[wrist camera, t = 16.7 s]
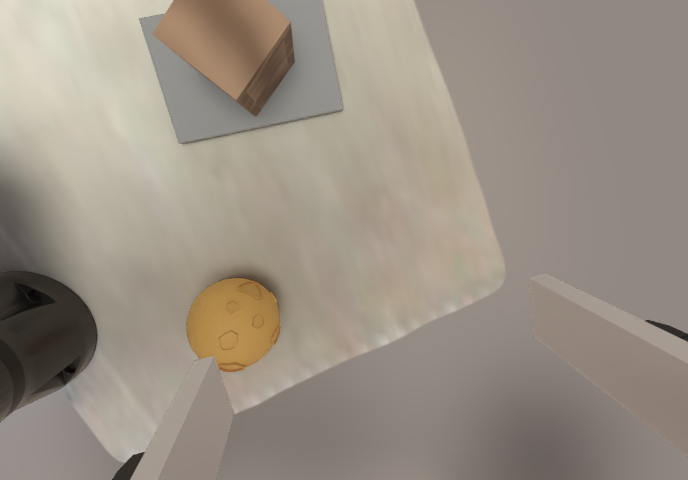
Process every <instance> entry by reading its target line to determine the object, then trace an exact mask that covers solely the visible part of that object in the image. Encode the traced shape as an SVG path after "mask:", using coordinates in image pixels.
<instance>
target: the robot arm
mask: <svg viewBox="0 0 688 480" xmlns="http://www.w3.org/2000/svg"><path fill="white" fill-rule="evenodd" d="M529 287H530V301H531V314H532V328H533V336H534V337H535V338H536V339H537V340H539V341H540V342H541V343H543V344H544V345H545V346H546V347H548V348H549V349H550V350H551V351H553V352H554V353H555V354H557V355H558V356H559V357H560V358H562V359H563V360H565V361H566V362H567V363H568V364H569V365H571V366H572V367H573V368H574V369H576V370H577V371H578V372H580V373H581V374H582V375H583V376H585V377H586V378H587V379H589V380H590V381H591V382H592V383H594V384H595V385H596V386H598V387H599V388H600V389H601V390H603V391H604V392H605V393H607V394H608V395H609V396H610V397H612V398H613V399H614V400H615V401H617V402H618V403H619V404H621V405H622V406H623V407H624V408H626V409H627V410H629V412H631V413H632V414H633V415H635V416H636V417H637V418H638V419H640V420H641V421H642V422H644V423H645V424H646V425H647V426H649V427H650V428H651V429H653V430H654V431H655V432H656V433H658V434H659V435H660V436H662V437H663V438H664V439H665V440H667V441H668V442H669V443H671V444H672V445H673V446H674V447H676V448H677V449H678V450H679V451H681V452H682V453H683V454H684V455H686V456H687V457H688V334H687V333H684V332H682V331H680V330H678V329H676V328H673V327H671V326H668V325H665V324H661V323H657V322H654V321H650V320H646V321H643V320H641V319H639V318H637V317H635V316H633V315H631V314H629V313H626V312H625V311H623V310H620V309H618V308H616V307H614V306H612V305H610V304H608V303H606V302H604V301H602V300H600V299H598V298H595V297H593V296H591V295H589V294H587V293H585V292H583V291H581V290H579V289H577V288H575V287H573V286H571V285H568V284H566V283H564V282H562V281H560V280H558V279H556V278H554V277H552V276H550V275H548V274H543V275H539V276H535V277H531V278H529ZM96 338H97V337H96V328H95V324H94V321H93V318H92V316H91V314H90V312H89V310H88V308H87V307H86V306H85V304H84V303H83V302H82V300H81V299H80V298H79V297H78V296H77V295H76V294H75V293H73V292H72V291H71V290H70V289H68V288H67V287H65V286H64V285H62V284H61V283H59V282H57V281H55V280H53V279H50V278H48V277H45V276H42V275H38V274H34V273H29V272H3V273H0V422H1V421H2V420H4V419H5V418H6V417H7V416H8V415H9V414H10V413H12V412H13V411H14V410H17V409H19V408H21V407H23V406H25V405H27V404H30V403H32V402H34V401H36V400H38V399H40V398H42V397H44V396H47V395H49V394H51V393H53V392H55V391H57V390H59V389H61V388H62V387H64V386H65V385H67V384H68V383H69V382H70V381H72V380H73V379H74V378H75V377H76V376H77V375H78V374H79V373H80V372H81V371H82V370H83V369H84V368H85V367H86V366H87V364H88V363H89V362H90V360H91V358H92V356H93V354H94V351H95V347H96ZM233 416H234V411H233V408H232V405H231V403H230V400H229V397H228V394H227V391H226V388H225V385H224V383H223V380H222V377H221V374H220V371H219V368H218V365H217V363H216V360H215V357H214V356H211V357H207V358H203V359H199V360H195V361H194V363H193V364H192V366H191V368H190V370H189V372H188V374H187V376H186V377H185V379H184V381H183V383H182V385H181V387H180V388H179V390H178V392H177V394H176V396H175V398H174V400H173V401H172V403H171V405H170V407H169V409H168V411H167V412H166V414H165V416H164V418H163V420H162V422H161V424H160V425H159V427H158V429H157V431H156V433H155V435H154V436H153V438H152V440H151V442H150V444H149V446H148V447H147V449H146V451H145V452H143V453H139V454H135V455H133V456H132V457H131V458H130V459H129V460H128V461H127V462H126V463H125V464H124V465H123V466H122V467H121V468H120V469H119V470H118V471H117V473H116V475H115V476H114V478H113V479H112V480H216V477H217V474H218V470H219V466H220V463H221V459H222V455H223V452H224V448H225V445H226V441H227V437H228V434H229V430H230V426H231V423H232V419H233Z"/></svg>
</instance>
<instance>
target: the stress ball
mask: <svg viewBox="0 0 688 480" xmlns="http://www.w3.org/2000/svg"><path fill="white" fill-rule="evenodd" d="M276 303H278V302H277V300H276V298H275V297H274V295H273V294H272V292H270V293H269V292H268V290H267V289H265V288H264V286H263V285H262V284H260V283H258V282H256V281H255V282H254V281H251V280H248V279H242V278H231V279H225V280H222V281H219V282H216V283H214V284H212V285H211V286H209V287H208V288H206V289H205V290H204V291H203V292H202V293H201V294H200V295H199V296H198V297H197V298H196V300H195V301H194V303H193V304H192V306H191V308H190V311H189V314H188V317H187V324H186V325H187V337H188V340H189V343H190V345H191V348H192V349H193V351H194V352H195V354H196V355H197V356H198V357H199V358H200V359H203V358H207V357H211V356H214V357H215V360H216V363H217V365H218V368H219V369H220V370H222V371H226V372H236V371H240V370H244V369H245V368H246V367H247V366H250V365H252V364H254V363H255V362H257V361H258V360H260V359H261V358H262V357H263V356H265V355H266V354H267V352H268V351H269V350H270V349H271V347H272V346H273V345H275V343H276V341H277V340H278V337H279V333H280V314H279V310H278V306H277V304H276Z"/></svg>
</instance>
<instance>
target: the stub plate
mask: <svg viewBox="0 0 688 480" xmlns="http://www.w3.org/2000/svg"><path fill="white" fill-rule="evenodd" d="M267 1H268V2H269V3H270V4H272V5H273V6H274V7H275V8H276V9H277V10H278V11H280V12H281V13H282V14H283V15H284V16H285V17H286V18H287V19H289V20H290V21H291V28H292V38H293V48H294V58H295V63H294V64H293V65H292V67H291V68H290V70H289V71H288V73H287V74H286V75H285V77H284V78H283V80H282V81H281V82H280V84H279V85H278V87H277V88H276V89H275V91H274V92H273V94H272V95H271V97H270V98H269V99H268V101H267V102H266V104H265V105H264V106H263V108H262V109H261V111H260V112H259V114H258V115H257V116H256V117H255V116H254V115H253V114H252V113H250V112H249V111H248V110H246V109H245V108H244V107H243V106H241V105H240V104H239V103H238V102H236V101H235V100H234V99H232V98H231V97H230V96H229V95H227V94H226V93H225V92H224V91H222V90H221V89H220V88H218V87H217V86H216V85H215V84H213V83H212V82H211V81H210V80H208V79H207V78H206V77H204V76H203V75H202V74H201V73H199V72H198V71H197V70H196V69H194V68H193V67H192V66H191V65H189V64H188V63H187V62H186V61H185V60H183V59H182V58H181V57H180V56H178V55H177V54H176V53H175V52H173V51H172V50H171V49H170V48H168V47H167V46H166V45H165V44H163V43H162V42H161V41H160V40H159V39H157V38H156V37H155V36H154V35H152V34H153V32H154V31H155V29H156V28H157V26H158V24H159V23H160V21H161V20H162V18H163V17H164V15H165V14H160V15H155V16H149V17H144V18H139V21H140V24H141V27H142V30H143V33H144V36H145V39H146V42H147V46H148V49H149V52H150V55H151V58H152V61H153V64H154V67H155V70H156V74H157V77H158V80H159V83H160V86H161V89H162V92H163V95H164V98H165V102H166V105H167V108H168V111H169V114H170V117H171V120H172V123H173V126H174V130H175V133H176V136H177V139H178V142H179V144H186V143H191V142H196V141H201V140H205V139H210V138H215V137H220V136H225V135H229V134H234V133H239V132H244V131H248V130H253V129H258V128H263V127H267V126H272V125H277V124H282V123H287V122H291V121H296V120H301V119H306V118H310V117H315V116H320V115H325V114H329V113H334V112H339V111H342V110H343V105H342V100H341V95H340V90H339V84H338V79H337V74H336V69H335V64H334V59H333V54H332V49H331V44H330V39H329V34H328V29H327V24H326V18H325V13H324V8H323V3H322V0H267Z"/></svg>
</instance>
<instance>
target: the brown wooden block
mask: <svg viewBox="0 0 688 480" xmlns="http://www.w3.org/2000/svg"><path fill="white" fill-rule="evenodd" d="M152 35H154V36H155V37H156V38H157V39H159V40H160V41H161V42H162V43H163V44H165V45H166V46H167V47H168V48H170V49H171V50H172V51H173V52H175V53H176V54H177V55H178V56H180V57H181V58H182V59H183V60H185V61H186V62H187V63H188V64H189V65H191V66H192V67H193V68H194V69H196V70H197V71H198V72H199V73H201V74H202V75H203V76H204V77H206V78H207V79H208V80H210V81H211V82H212V83H213V84H215V85H216V86H217V87H218V88H220V89H221V90H222V91H224V92H225V93H226V94H227V95H229V96H230V97H231V98H232V99H234V100H235V101H236V102H238V103H239V104H240V105H241V106H243V107H244V108H245V109H246V110H248V111H249V112H250V113H252V114H253V115H254V116H255V117H256V116H257V115H258V114H259V112H260V111H261V109H262V108H263V106H264V105H265V104H266V102H267V101H268V99H269V98H270V97H271V95H272V94H273V92H274V91H275V89H276V88H277V87H278V85H279V84H280V82H281V81H282V80H283V78H284V77H285V75H286V74H287V73H288V71H289V70H290V68H291V67H292V65H293V64H294V63H295V58H294V48H293V38H292V28H291V21H290V20H289V19H287V18H286V17H285V16H284V15H283V14H282V13H281V12H280V11H278V10H277V9H276V8H275V7H274V6H273V5H272V4H270V3H269V2H268V1H267V0H174V1H173V3H172V4H171V6H170V7H169V9H168V10H167V12H166V13H165V15H164V17H163V18H162V20H161V21H160V23H159V24H158V26H157V28H156V29H155V31H154V32H153V34H152Z"/></svg>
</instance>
